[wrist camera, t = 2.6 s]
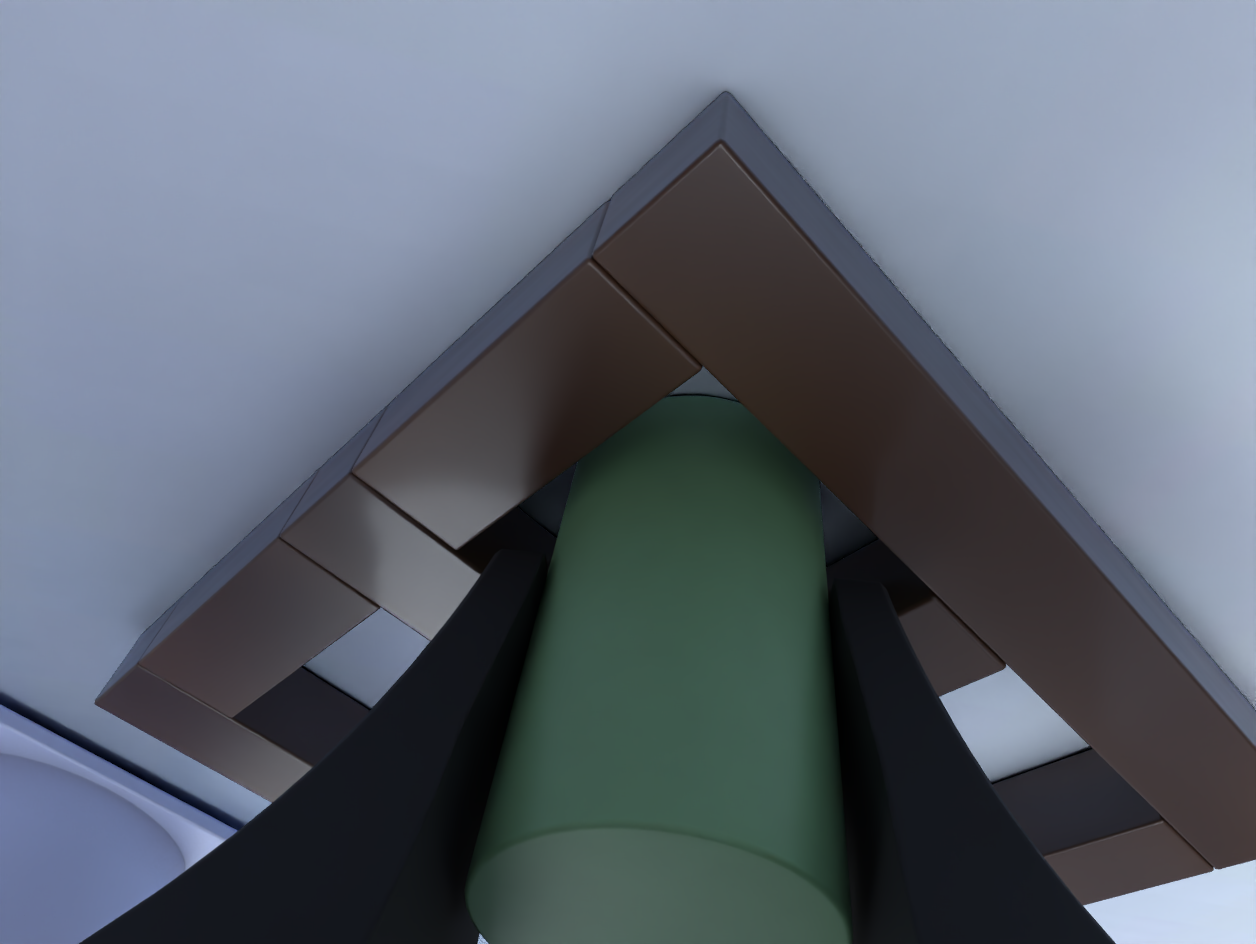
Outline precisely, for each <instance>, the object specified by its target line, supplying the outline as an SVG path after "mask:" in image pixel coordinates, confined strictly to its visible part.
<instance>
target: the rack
mask: <svg viewBox="0 0 1256 944" xmlns="http://www.w3.org/2000/svg"><path fill="white" fill-rule="evenodd" d="M702 366H704V367H705V368H706V369H707V370H708V371H709V372H710V373H711V374H712V375H713V376H714V377H715V378H716V379H717V380H718V381H719V382H720V383H721V384H722V385H723V386H724V387H725V388H726V389H727V390H728V391H729V392H730V393H731V394H732V395H733V396H734V397H735V398H736V399H737V400H738V401H739V402H740V403H741V404H742V405H743V406H744V407H745V408H746V409H748V410H749V411H750V412H751V413H752V414H753V415H754V416H755V417H756V418H757V419H758V420H759V421H760V422H761V423H762V424H763V425H764V426H765V427H766V428H767V429H768V430H769V431H770V432H771V433H772V434H773V435H774V436H775V437H776V438H777V439H778V440H779V441H780V442H781V443H782V444H783V445H784V446H785V447H786V448H787V449H788V450H789V451H790V452H791V453H792V454H793V455H794V456H795V457H796V458H797V459H798V460H799V461H800V462H801V463H802V464H804V465H805V466H806V467H807V468H808V469H809V470H810V471H811V472H812V473H813V474H814V475H815V476H816V477H817V478H818V479H819V480H820V481H821V482H822V483H823V484H824V485H825V486H826V487H827V488H828V489H829V490H830V491H831V492H832V493H833V494H834V495H835V496H836V497H837V498H838V499H839V500H840V501H841V502H842V503H843V504H844V505H845V506H846V507H847V508H848V509H849V510H850V511H851V512H852V513H853V514H854V515H855V516H856V517H857V518H859V519H860V520H861V521H862V522H863V523H864V524H865V525H866V526H867V527H868V528H869V529H870V530H871V531H872V532H873V533H874V534H875V535H876V536H877V537H878V538H879V539H878V540H876V541H874V542H872V543H871V544H869V545H867V546H865V547H863V548H861V549H860V550H858V551H856V552H854V553H852V554H850V555H848V556H847V557H845V558H843V559H841V560H839V561H837V562H836V563H834V564H832V565H830V566H828V567H826V575H827V588H828V602H829V599H830V594H831V590H832V585H833V580H834V578H840V579H851V580H862V581H874V582H880V583H881V584H882V585H883V586H884V587H885V588H886V589H887V592H888V594H889V597H890V599H891V602H892V604H893V606H894V609H895V611H896V613H897V616H898V618H899V620H900V622H901V624H902V627H903V629H904V631H905V633H906V635H907V637H908V639H909V641H910V643H911V645H912V647H913V649H914V651H915V653H916V655H917V657H918V659H919V661H920V663H921V665H922V667H923V669H924V671H925V673H926V675H927V677H928V678H929V680H930V682H931V684H932V686H933V688H934V690H935V691H936V693H937V695H938V697H939V696H942V695H944V694H946V693H949V692H951V691H953V690H956V689H958V688H961V687H963V686H965V685H968V684H970V683H972V682H975V681H977V680H980V679H982V678H984V677H987V676H989V675H991V674H994V673H996V672H999V671H1001V670H1003V669H1004V668H1005V667H1006V664H1007V665H1008V666H1009V667H1010V668H1011V669H1012V670H1013V671H1014V672H1015V673H1016V674H1017V675H1018V676H1019V677H1020V678H1021V679H1022V680H1023V681H1024V682H1026V683H1027V684H1028V685H1029V686H1030V687H1031V688H1032V689H1033V690H1034V691H1035V692H1036V693H1037V694H1038V695H1039V696H1040V697H1041V698H1042V699H1043V700H1044V701H1045V702H1046V703H1047V704H1048V705H1049V706H1050V707H1051V708H1052V709H1053V710H1054V711H1055V712H1056V713H1057V714H1058V715H1059V716H1060V717H1061V718H1062V719H1063V720H1064V721H1065V722H1066V723H1067V724H1068V725H1069V726H1070V727H1071V728H1072V729H1073V730H1074V731H1075V732H1076V733H1077V734H1078V735H1079V736H1081V737H1082V738H1083V739H1084V740H1085V741H1086V742H1087V743H1088V744H1089V745H1090V746H1091V747H1092V748H1093V749H1091V750H1088V751H1085V752H1082V753H1080V754H1077V755H1074V756H1071V757H1068V758H1065V759H1063V760H1060V761H1057V762H1054V763H1051V764H1048V765H1046V766H1043V767H1040V768H1037V769H1034V770H1031V771H1029V772H1026V773H1023V774H1020V775H1017V776H1014V777H1012V778H1009V779H1006V780H1003V781H1000V782H998V783H995V784H992V785H993V787H994V788H995V790H996V791H997V793H998V794H999V796H1000V797H1001V799H1002V800H1003V802H1004V803H1005V805H1006V806H1007V807H1008V809H1009V810H1010V812H1011V813H1012V814H1013V816H1014V817H1015V819H1016V820H1017V822H1018V823H1019V824H1020V826H1021V827H1022V828H1023V830H1024V831H1025V832H1026V834H1027V835H1028V836H1029V838H1030V839H1031V841H1032V842H1033V843H1034V845H1035V846H1036V847H1037V849H1038V850H1039V851H1040V853H1041V854H1042V855H1043V857H1044V858H1045V859H1046V860H1047V862H1048V863H1049V864H1050V865H1051V867H1052V868H1053V869H1054V871H1055V872H1056V873H1057V874H1058V876H1059V877H1060V878H1061V879H1062V881H1063V882H1064V883H1065V885H1066V886H1067V887H1068V888H1069V890H1070V891H1071V892H1072V893H1073V895H1074V896H1075V897H1076V898H1077V900H1078V901H1079V902H1080V903H1081V904H1082V905H1087V904H1091V903H1094V902H1098V901H1102V900H1106V899H1109V898H1113V897H1117V896H1121V895H1125V894H1128V893H1132V892H1136V891H1140V890H1143V889H1147V888H1151V887H1155V886H1159V885H1162V884H1166V883H1170V882H1174V881H1178V880H1181V879H1185V878H1189V877H1193V876H1196V875H1200V874H1204V873H1208V872H1212V871H1213V870H1214V869H1213V867H1214V868H1215V869H1222V868H1226V867H1230V866H1234V865H1237V864H1241V863H1245V862H1249V861H1253V860H1256V710H1255V709H1254V708H1253V707H1252V706H1251V704H1250V703H1249V702H1248V701H1247V700H1246V699H1245V697H1244V696H1243V695H1242V694H1241V693H1240V691H1239V690H1238V689H1237V688H1236V687H1235V686H1234V684H1233V683H1232V682H1231V681H1230V680H1229V679H1228V677H1227V676H1226V675H1225V674H1224V673H1223V672H1222V670H1221V669H1220V668H1219V667H1218V666H1217V664H1216V663H1215V662H1214V661H1213V660H1212V659H1211V657H1210V656H1209V655H1208V654H1207V653H1206V652H1205V650H1204V649H1203V648H1202V647H1201V646H1200V645H1199V643H1198V642H1197V641H1196V640H1195V639H1194V637H1193V636H1192V635H1191V634H1190V633H1189V632H1188V630H1187V629H1186V628H1185V627H1184V626H1183V625H1182V623H1181V622H1180V621H1179V620H1178V619H1177V618H1176V616H1175V615H1174V614H1173V613H1172V612H1171V610H1170V609H1169V608H1168V607H1167V606H1166V605H1165V603H1164V602H1163V601H1162V600H1161V599H1160V598H1159V596H1158V595H1157V594H1156V593H1155V592H1154V590H1153V589H1152V588H1151V587H1150V586H1149V585H1148V583H1147V582H1146V581H1145V580H1144V579H1143V578H1142V576H1141V575H1140V574H1139V573H1138V572H1137V571H1136V569H1135V568H1134V567H1133V566H1132V565H1131V563H1130V562H1129V561H1128V560H1127V559H1126V558H1125V556H1124V555H1123V554H1122V553H1121V552H1120V551H1119V549H1118V548H1117V547H1116V546H1115V545H1114V544H1113V542H1112V541H1111V540H1110V539H1109V538H1108V536H1107V535H1106V534H1105V533H1104V532H1103V531H1102V529H1101V528H1100V527H1099V526H1098V525H1097V524H1096V522H1095V521H1094V520H1093V519H1092V518H1091V517H1090V515H1089V514H1088V513H1087V512H1086V511H1085V509H1084V508H1083V507H1082V506H1081V505H1080V504H1079V502H1078V501H1077V500H1076V499H1075V498H1074V497H1073V495H1072V494H1071V493H1070V492H1069V491H1068V490H1067V488H1066V487H1065V486H1064V485H1063V484H1062V482H1061V481H1060V480H1059V479H1058V478H1057V477H1056V475H1055V474H1054V473H1053V472H1052V471H1051V470H1050V468H1049V467H1048V466H1047V465H1046V464H1045V463H1044V461H1043V460H1042V459H1041V458H1040V457H1039V455H1038V454H1037V453H1036V452H1035V451H1034V450H1033V448H1032V447H1031V446H1030V445H1029V444H1028V443H1027V441H1026V440H1025V439H1024V438H1023V437H1022V435H1021V434H1020V433H1019V432H1018V431H1017V430H1016V428H1015V427H1014V426H1013V425H1012V424H1011V423H1010V421H1009V420H1008V419H1007V418H1006V417H1005V416H1004V414H1003V413H1002V412H1001V411H1000V410H999V408H998V407H997V406H996V405H995V404H994V403H993V401H992V400H991V399H990V398H989V397H988V396H987V394H986V393H985V392H984V391H983V390H982V389H981V387H980V386H979V385H978V384H977V383H976V381H975V380H974V379H973V378H972V377H971V376H970V374H969V373H968V372H967V371H966V370H965V369H964V367H963V366H962V365H961V364H960V363H959V362H958V360H957V359H956V358H955V357H954V356H953V354H952V353H951V352H950V351H949V350H948V349H947V347H946V346H945V345H944V344H943V343H942V342H941V340H940V339H939V338H938V337H937V336H936V335H935V333H934V332H933V331H932V330H931V329H930V327H929V326H928V325H927V324H926V323H925V322H924V320H923V319H922V318H921V317H920V316H919V315H918V313H917V312H916V311H915V310H914V309H913V307H912V306H911V305H910V304H909V303H908V302H907V300H906V299H905V298H904V297H903V296H902V295H901V293H900V292H899V291H898V290H897V289H896V288H895V286H894V285H893V284H892V283H891V282H890V280H889V279H888V278H887V277H886V276H885V275H884V273H883V272H882V271H881V270H880V269H879V268H878V266H877V265H876V264H875V263H874V262H873V261H872V259H871V258H870V257H869V256H868V255H867V253H866V252H865V251H864V250H863V249H862V248H861V246H860V245H859V244H858V243H857V242H856V241H855V239H854V238H853V237H852V236H851V235H850V234H849V232H848V231H847V230H846V229H845V228H844V226H843V225H842V224H841V223H840V222H839V221H838V219H837V218H836V217H835V216H834V215H833V214H832V212H831V211H830V210H829V209H828V208H827V207H826V205H825V204H824V203H823V202H822V201H821V199H820V198H819V197H818V196H817V195H816V194H815V192H814V191H813V190H812V189H811V188H810V187H809V185H808V184H807V183H806V182H805V181H804V180H803V178H802V177H801V176H800V175H799V174H798V172H797V171H796V170H795V169H794V168H793V167H792V165H791V164H790V163H789V162H788V161H787V160H786V158H785V157H784V156H783V155H782V154H781V152H780V151H779V150H778V149H777V148H776V147H775V145H774V144H773V143H772V142H771V141H770V140H769V138H768V137H767V136H766V135H765V134H764V133H763V131H762V130H761V129H760V128H759V127H758V125H757V124H756V123H755V122H754V121H753V120H752V118H751V117H750V116H749V115H748V114H747V113H746V111H745V110H744V109H743V108H742V107H741V106H740V104H739V103H738V102H737V101H736V100H735V98H734V97H733V96H732V95H731V94H730V93H728V92H725V93H722V94H721V95H720V96H719V97H718V98H717V99H716V100H715V101H713V102H712V103H711V104H710V105H709V106H708V107H707V108H706V109H705V110H704V111H703V112H702V113H701V114H700V115H698V116H697V117H696V118H695V119H694V120H693V121H692V122H691V123H690V124H689V125H688V126H687V127H686V128H685V129H683V130H682V131H681V132H680V133H679V134H678V135H677V136H676V137H675V138H674V139H673V140H672V141H671V142H670V143H668V144H667V145H666V146H665V147H664V148H663V149H662V150H661V151H660V152H659V153H658V154H657V155H656V156H654V157H653V158H652V159H651V160H650V161H649V162H648V163H647V164H646V165H645V166H644V167H643V168H642V169H641V170H639V171H638V172H637V173H636V174H635V175H634V176H633V177H632V178H631V179H630V180H629V181H628V182H627V183H626V184H624V185H623V186H622V187H621V188H620V189H619V190H618V191H617V192H616V193H615V194H614V195H613V196H612V198H611V201H608V202H606V203H604V204H603V205H602V206H601V207H600V208H599V209H598V210H597V211H596V212H595V213H593V214H592V215H591V216H590V217H589V218H588V219H587V220H586V221H585V222H584V223H583V224H582V225H581V226H580V227H578V228H577V229H576V230H575V231H574V232H573V233H572V234H571V235H570V236H569V237H568V238H567V239H566V240H564V241H563V242H562V243H561V244H560V245H559V246H558V247H557V248H556V249H555V250H554V251H553V252H552V253H551V254H549V255H548V256H547V257H546V258H545V259H544V260H543V261H542V262H541V263H540V264H539V265H538V266H537V267H536V268H534V269H533V270H532V271H531V272H530V273H529V274H528V275H527V276H526V277H525V278H524V279H523V280H522V281H521V282H519V283H518V284H517V285H516V286H515V287H514V288H513V289H512V290H511V291H510V292H509V293H508V294H507V295H505V296H504V297H503V298H502V299H501V300H500V301H499V302H498V303H497V304H496V305H495V306H494V307H493V308H492V309H490V310H489V311H488V312H487V313H486V314H485V315H484V316H483V317H482V318H481V319H480V320H479V321H478V322H477V323H475V324H474V325H473V326H472V327H471V328H470V329H469V330H468V331H467V332H466V333H465V334H464V335H463V336H461V337H460V338H459V339H458V340H457V341H456V342H455V343H454V344H453V345H452V346H451V347H450V348H449V349H448V350H446V351H445V352H444V353H443V354H442V355H441V356H440V357H439V358H438V359H437V360H436V361H435V362H434V363H433V364H431V365H430V366H429V367H428V368H427V369H426V370H425V371H424V372H423V373H422V374H421V375H420V376H419V377H418V378H416V379H415V380H414V381H413V382H412V383H411V384H410V385H409V386H408V387H407V388H406V389H405V390H404V391H402V392H401V393H400V394H399V395H398V396H397V397H396V398H395V399H394V400H393V401H392V402H391V403H390V404H389V406H387V407H385V408H384V409H383V410H382V411H381V412H380V413H379V414H378V415H377V416H376V417H374V418H373V419H372V420H371V421H370V422H369V423H368V424H367V425H366V426H365V427H364V428H363V429H362V430H361V431H359V432H358V433H357V434H356V435H355V436H354V437H353V438H352V439H351V440H350V441H349V442H348V443H347V444H345V445H344V446H343V447H342V448H341V449H340V450H339V451H338V452H337V453H336V454H335V455H334V456H333V457H332V458H330V459H329V460H328V461H327V462H326V463H325V464H324V465H323V466H322V467H321V468H320V469H318V470H317V471H316V472H315V473H314V474H313V475H312V476H311V477H310V478H309V479H308V480H307V481H306V482H305V483H303V484H302V485H301V486H300V487H299V488H298V489H297V490H296V491H295V492H294V493H293V494H292V495H291V496H290V497H288V498H287V499H286V500H285V501H284V502H283V503H282V504H281V505H280V506H279V507H278V508H277V509H276V510H274V511H273V512H272V513H271V514H270V515H269V516H268V517H267V518H266V519H265V520H264V521H263V522H262V523H261V524H259V525H258V526H257V527H256V528H255V529H254V530H253V531H252V532H251V533H250V534H249V535H248V536H247V537H246V538H244V539H243V540H242V541H241V542H240V543H239V544H238V545H237V546H236V547H235V548H234V549H233V550H232V551H231V552H229V553H228V554H227V555H226V556H225V557H224V558H223V559H222V560H221V561H220V562H219V563H218V564H217V565H216V566H214V567H213V568H212V569H211V570H210V571H209V572H208V573H207V574H206V575H205V576H204V577H203V578H202V579H200V580H199V581H198V582H197V583H196V584H195V585H194V586H193V587H192V588H191V589H190V590H189V591H188V592H187V593H186V594H185V595H184V596H182V597H181V598H180V599H179V600H178V601H177V602H176V603H175V604H174V605H173V606H172V607H171V608H170V609H169V610H167V611H166V612H165V613H164V614H163V615H162V616H161V617H160V618H159V619H158V620H157V621H156V622H155V623H154V624H152V625H151V626H150V627H149V628H148V629H147V630H146V631H145V632H144V633H143V634H142V635H141V636H140V637H139V639H138V640H137V642H136V643H135V644H134V646H133V647H132V649H131V650H130V652H129V653H128V654H127V656H126V657H125V659H124V660H123V661H122V663H121V664H120V666H119V667H118V668H117V670H116V671H115V673H114V674H113V675H112V677H111V678H110V680H109V681H108V683H107V684H106V685H105V687H104V688H103V690H102V691H101V692H100V694H99V695H98V697H97V698H96V699H95V703H94V704H95V705H97V706H98V707H100V708H102V709H104V710H106V711H107V712H109V713H111V714H113V715H115V716H116V717H118V718H120V719H122V720H124V721H125V722H127V723H129V724H131V725H133V726H135V727H136V728H138V729H140V730H142V731H144V732H145V733H147V734H149V735H151V736H153V737H154V738H156V739H158V740H160V741H162V742H163V743H165V744H167V745H169V746H171V747H172V748H174V749H176V750H178V751H180V752H181V753H183V754H185V755H187V756H189V757H190V758H192V759H194V760H196V761H198V762H199V763H201V764H203V765H205V766H207V767H208V768H210V769H212V770H214V771H216V772H217V773H219V774H221V775H223V776H225V777H226V778H228V779H230V780H232V781H234V782H235V783H237V784H239V785H241V786H243V787H244V788H246V789H248V790H250V791H252V792H253V793H255V794H257V795H259V796H261V797H262V798H264V799H266V800H268V801H270V802H271V803H273V802H274V801H275V800H276V799H277V798H278V797H280V796H281V795H282V794H283V793H284V792H285V791H286V790H288V789H289V788H290V787H291V786H292V785H293V784H294V783H296V782H297V781H298V780H299V779H300V778H301V777H302V776H304V775H305V774H306V773H307V772H308V771H309V770H310V769H311V768H312V767H314V766H315V765H316V764H317V763H318V762H319V761H320V760H321V759H322V758H323V757H324V756H325V755H326V754H327V753H328V752H329V751H330V750H332V749H333V748H334V747H335V746H336V745H337V744H338V743H339V742H340V741H341V740H342V739H343V738H344V737H345V736H346V735H347V734H348V733H349V732H350V731H351V730H352V729H353V728H354V727H355V726H356V725H357V724H358V723H359V722H360V721H361V720H362V719H363V718H364V717H365V716H366V715H367V713H368V712H369V711H370V710H368V709H367V708H365V707H364V706H362V705H360V704H359V703H357V702H356V701H354V700H352V699H351V698H349V697H348V696H346V695H345V694H343V693H341V692H340V691H338V690H337V689H335V688H333V687H332V686H330V685H329V684H327V683H326V682H324V681H322V680H321V679H319V678H318V677H316V676H314V675H313V674H311V673H310V672H308V671H306V670H305V669H303V668H302V667H301V666H303V665H304V664H305V663H307V662H308V661H309V660H311V659H312V658H314V657H315V656H316V655H318V654H319V653H320V652H322V651H323V650H324V649H326V648H327V647H328V646H330V645H331V644H332V643H334V642H335V641H336V640H338V639H339V638H341V637H342V636H343V635H345V634H346V633H347V632H349V631H350V630H351V629H353V628H354V627H355V626H357V625H358V624H359V623H361V622H362V621H364V620H365V619H366V618H368V617H369V616H370V615H372V614H373V613H374V612H376V611H377V610H378V609H380V607H382V608H383V609H384V610H386V611H387V612H389V613H390V614H392V615H393V616H395V617H396V618H397V619H399V620H400V621H402V622H403V623H405V624H406V625H408V626H409V627H411V628H412V629H413V630H415V631H416V632H418V633H419V634H421V635H422V636H424V637H425V638H426V639H428V640H429V641H431V640H432V639H433V638H434V636H435V635H436V634H437V633H438V632H439V630H440V629H441V628H442V627H443V625H444V624H445V623H446V622H447V620H448V619H449V618H450V616H451V615H452V614H453V612H454V611H455V610H456V608H457V607H458V606H459V604H460V603H461V602H462V600H463V599H464V598H465V596H466V595H467V594H468V592H469V591H470V589H471V588H472V587H473V585H474V584H475V582H476V581H477V580H478V578H479V577H480V575H481V574H482V572H483V571H484V569H485V568H486V566H487V565H488V563H489V562H490V560H491V559H492V557H493V556H494V554H495V553H497V552H498V551H499V550H501V549H513V550H524V551H536V552H545V563H546V577H547V574H548V570H549V567H550V563H551V559H552V555H553V552H554V548H555V544H556V540H557V538H555V537H554V536H553V535H552V534H550V533H549V532H548V531H547V530H545V529H544V528H543V527H542V526H540V525H539V524H538V523H537V522H535V521H534V520H533V519H532V518H530V517H529V516H528V515H527V514H525V513H524V512H523V511H522V510H520V509H519V508H518V507H517V506H518V505H519V504H521V503H522V502H524V501H525V500H526V499H528V498H529V497H530V496H532V495H533V494H534V493H536V492H537V491H538V490H540V489H541V488H542V487H544V486H545V485H547V484H548V483H549V482H551V481H552V480H553V479H555V478H556V477H557V476H559V475H560V474H561V473H563V472H564V471H565V470H567V469H568V468H569V467H571V466H572V465H574V464H575V463H576V462H578V461H579V460H580V459H582V458H583V457H584V456H586V455H587V454H588V453H590V452H591V451H592V450H594V449H595V448H597V447H598V446H599V445H601V444H602V443H603V442H605V441H606V440H607V439H609V438H610V437H611V436H613V435H614V434H615V433H617V432H618V431H619V430H621V429H622V428H624V427H625V426H626V425H628V424H629V423H630V422H632V421H633V420H634V419H636V418H637V417H638V416H640V415H641V414H642V413H644V412H645V411H647V410H648V409H649V408H651V407H652V406H653V405H655V404H656V403H657V402H659V401H660V400H661V399H663V398H664V397H665V396H667V395H668V394H669V393H671V392H672V391H674V390H675V389H676V388H678V387H679V386H680V385H682V384H683V383H684V382H686V381H687V380H688V379H690V378H691V377H692V376H694V375H695V374H697V373H698V372H699V371H700V370H701V369H702Z"/></svg>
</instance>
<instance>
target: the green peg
mask: <svg viewBox="0 0 1256 944" xmlns="http://www.w3.org/2000/svg"><path fill="white" fill-rule="evenodd" d="M464 891H465V902H466V908H467V911H468V913H469V916H470V919H471V921H472V922H473V924H474V926H475V927H476V929H477V930H478V932H479V933H480V934H481V935H482V936H483V938H484V939H485V940H486V941H487V942H488V943H489V944H852V943H853V924H852V911H851V897H850V884H849V870H848V857H847V844H846V830H845V817H844V803H843V790H842V776H841V763H840V749H839V736H838V723H837V709H836V696H835V683H834V669H833V656H832V643H831V629H830V616H829V602H828V588H827V575H826V561H825V548H824V534H823V521H822V507H821V494H820V483H819V479H818V478H817V477H816V476H815V475H814V474H813V473H812V472H811V471H810V470H809V469H808V468H807V467H806V466H805V465H804V464H802V463H801V462H800V461H799V460H798V459H797V458H796V457H795V456H794V455H793V454H792V453H791V452H790V451H789V450H788V449H787V448H786V447H785V446H784V445H783V444H782V443H781V442H780V441H779V440H778V439H777V438H776V437H775V436H774V435H773V434H772V433H771V432H770V431H769V430H768V429H767V428H766V427H765V426H764V425H763V424H762V423H761V422H760V421H759V420H758V419H757V418H756V417H755V416H754V415H753V414H752V413H751V412H750V411H749V410H748V409H746V408H745V407H744V406H743V405H742V404H741V403H738V402H734V401H730V400H726V399H722V398H716V397H708V396H689V395H684V396H673V397H666V398H663V399H661V400H660V401H659V402H657V403H656V404H655V405H653V406H652V407H651V408H649V409H648V410H647V411H645V412H644V413H642V414H641V415H640V416H638V417H637V418H636V419H634V420H633V421H632V422H630V423H629V424H628V425H626V426H625V427H624V428H622V429H621V430H619V431H618V432H617V433H615V434H614V435H613V436H611V437H610V438H609V439H607V440H606V441H605V442H603V443H602V444H601V445H599V446H598V447H597V448H595V449H594V450H592V451H591V452H590V453H588V454H587V455H586V456H584V457H583V458H582V459H580V460H579V461H578V462H577V465H576V469H575V473H574V476H573V480H572V484H571V488H570V491H569V495H568V499H567V503H566V506H565V510H564V514H563V518H562V522H561V525H560V529H559V533H558V537H557V540H556V544H555V548H554V552H553V555H552V559H551V563H550V567H549V570H548V574H547V578H546V582H545V585H544V589H543V593H542V597H541V600H540V604H539V608H538V612H537V615H536V619H535V623H534V627H533V630H532V634H531V638H530V642H529V646H528V649H527V653H526V657H525V661H524V664H523V668H522V672H521V676H520V679H519V683H518V687H517V691H516V694H515V698H514V702H513V706H512V709H511V713H510V717H509V721H508V724H507V728H506V732H505V736H504V739H503V743H502V747H501V751H500V754H499V758H498V762H497V766H496V770H495V773H494V777H493V781H492V785H491V788H490V792H489V796H488V800H487V803H486V807H485V811H484V815H483V818H482V822H481V826H480V830H479V833H478V837H477V841H476V845H475V848H474V852H473V856H472V860H471V863H470V867H469V871H468V875H467V879H466V884H465V889H464Z"/></svg>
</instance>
